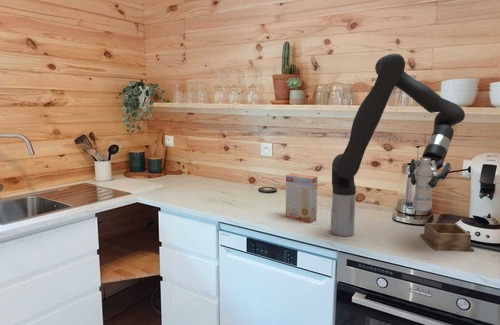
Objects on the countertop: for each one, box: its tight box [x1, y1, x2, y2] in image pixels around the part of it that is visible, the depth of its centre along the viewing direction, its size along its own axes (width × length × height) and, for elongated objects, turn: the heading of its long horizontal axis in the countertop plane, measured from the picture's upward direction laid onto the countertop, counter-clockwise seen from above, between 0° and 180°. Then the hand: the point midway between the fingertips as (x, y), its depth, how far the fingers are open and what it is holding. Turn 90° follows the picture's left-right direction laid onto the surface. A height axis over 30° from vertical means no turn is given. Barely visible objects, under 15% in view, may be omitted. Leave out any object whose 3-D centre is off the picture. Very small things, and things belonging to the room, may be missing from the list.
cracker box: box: [285, 173, 318, 223], centre depth 167 cm, size 14×6×21 cm, turn 48°
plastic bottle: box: [412, 156, 434, 213], centre depth 131 cm, size 6×7×20 cm
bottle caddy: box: [419, 222, 475, 253], centre depth 138 cm, size 14×14×6 cm
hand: (422, 185), depth 130 cm, fingers closed on plastic bottle, 6 cm apart
